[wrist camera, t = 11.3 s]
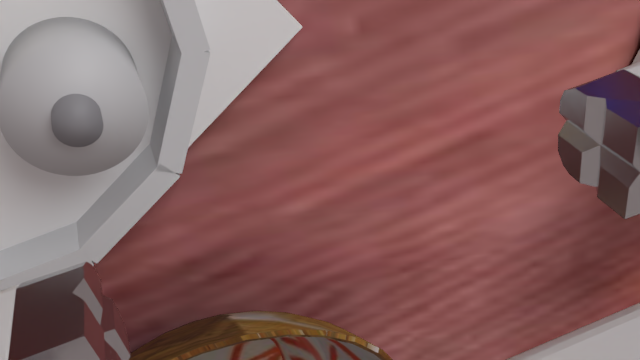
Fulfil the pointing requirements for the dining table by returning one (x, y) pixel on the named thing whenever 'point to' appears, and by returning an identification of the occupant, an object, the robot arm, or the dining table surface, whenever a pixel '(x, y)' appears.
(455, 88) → the dining table surface
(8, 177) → the carrier board
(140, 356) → the bowl
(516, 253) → the dining table surface
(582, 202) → the dining table surface
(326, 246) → the dining table surface
